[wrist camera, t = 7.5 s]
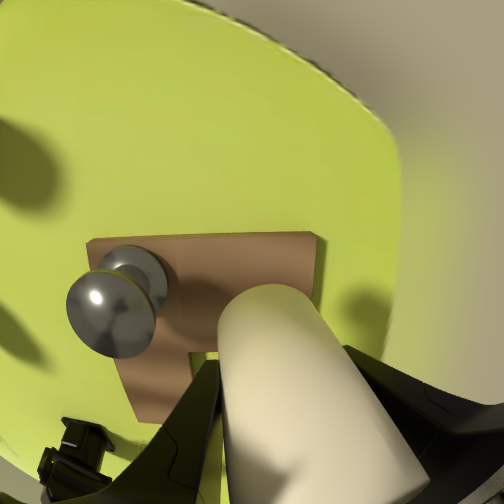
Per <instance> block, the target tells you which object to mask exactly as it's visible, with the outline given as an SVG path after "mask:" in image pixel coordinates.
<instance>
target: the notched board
mask: <svg viewBox="0 0 504 504" xmlns="http://www.w3.org/2000/svg"><path fill="white" fill-rule="evenodd" d="M127 244H129V245H137V246H141V247H143V248H146V249H147V250H149V251H151V252H152V253H153V254H155V255H156V256H157V257H158V258H159V260H160V261H161V262H162V264H163V265H164V267H165V269H166V272H167V275H168V279H169V290H168V294H167V297H166V300H165V302H164V304H163V306H162V308H161V309H160V310H159V311H158V312H157V313H156V329H155V332H154V335H153V338H152V341H151V343H150V345H149V347H148V348H147V349H146V350H145V351H144V352H143V353H141V354H140V355H138V356H135V357H132V358H128V359H116V358H113V359H114V362H115V365H116V368H117V371H118V374H119V376H120V379H121V382H122V384H123V387H124V389H125V392H126V394H127V397H128V399H129V402H130V404H131V406H132V409H133V411H134V413H135V415H136V418H137V420H138V422H142V423H153V424H163V423H164V422H165V420H166V419H167V417H168V416H169V414H170V413H171V412H172V410H173V409H174V407H175V406H176V404H177V403H178V401H179V400H180V398H181V397H182V395H183V394H184V392H185V391H186V389H187V388H188V386H189V385H190V383H191V382H192V380H193V379H194V373H193V367H192V361H191V354H190V352H218V338H217V327H218V322H219V319H220V316H221V314H222V312H223V310H224V309H225V308H226V306H227V305H228V304H229V303H230V302H231V301H232V300H233V299H234V298H235V297H236V296H238V295H239V294H241V293H242V292H244V291H246V290H248V289H251V288H253V287H257V286H261V285H267V284H280V285H286V286H290V287H292V288H295V289H297V290H299V291H300V292H302V293H303V294H304V295H306V296H307V297H308V299H309V300H310V301H311V300H312V290H313V280H314V269H315V257H316V244H317V236H316V235H315V234H313V233H312V232H311V231H302V232H247V233H211V234H181V235H156V236H133V237H113V238H94V239H92V240H91V241H89V242H88V243H86V248H87V254H88V260H89V266H90V271H91V270H94V269H97V266H98V264H99V262H100V261H101V259H102V258H103V257H104V256H105V255H106V254H107V253H108V252H109V251H111V250H112V249H114V248H116V247H118V246H121V245H127Z"/></svg>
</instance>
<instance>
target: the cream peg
mask: <svg viewBox="0 0 504 504" xmlns="http://www.w3.org/2000/svg"><path fill="white" fill-rule="evenodd" d="M217 338H218V361H219V371H220V391H221V413H222V427H223V439H224V451H225V462H226V473H227V482H228V492H229V501H230V504H406V503H408V502H409V501H410V500H412V499H413V498H414V497H416V496H417V495H418V494H419V493H420V492H421V491H423V490H424V489H425V488H426V487H427V485H428V484H429V483H430V478H429V477H428V475H427V473H426V472H425V470H424V469H423V467H422V466H421V464H420V462H419V461H418V459H417V458H416V456H415V455H414V453H413V451H412V450H411V448H410V447H409V445H408V444H407V442H406V441H405V439H404V438H403V436H402V434H401V433H400V431H399V430H398V428H397V427H396V425H395V424H394V422H393V421H392V419H391V418H390V416H389V415H388V413H387V412H386V410H385V409H384V407H383V406H382V404H381V403H380V401H379V400H378V398H377V397H376V395H375V394H374V392H373V391H372V389H371V388H370V386H369V385H368V383H367V382H366V380H365V379H364V377H363V376H362V374H361V373H360V371H359V370H358V369H357V367H356V366H355V364H354V363H353V361H352V360H351V358H350V357H349V355H348V354H347V352H346V351H345V350H344V348H343V347H342V345H341V344H340V342H339V341H338V339H337V338H336V337H335V335H334V334H333V332H332V331H331V329H330V328H329V327H328V325H327V324H326V322H325V321H324V319H323V318H322V317H321V315H320V314H319V312H318V311H317V309H316V308H315V307H314V305H313V304H312V302H311V301H310V300H309V299H308V297H307V296H306V295H304V294H303V293H302V292H300V291H299V290H297V289H295V288H292V287H290V286H286V285H280V284H267V285H261V286H257V287H253V288H251V289H248V290H246V291H244V292H242V293H241V294H239V295H238V296H236V297H235V298H234V299H233V300H232V301H231V302H230V303H229V304H228V305H227V306H226V308H225V309H224V310H223V312H222V314H221V316H220V319H219V322H218V327H217Z"/></svg>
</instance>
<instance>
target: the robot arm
mask: <svg viewBox="0 0 504 504" xmlns="http://www.w3.org/2000/svg"><path fill="white" fill-rule="evenodd" d="M342 347H343V348H344V350H345V351H346V352H347V354H348V355H349V357H350V358H351V360H352V361H353V363H354V364H355V366H356V367H357V369H358V370H359V371H360V373H361V374H362V376H363V377H364V379H365V380H366V382H367V383H368V385H369V386H370V388H371V389H372V391H373V392H374V394H375V395H376V397H377V398H378V400H379V401H380V403H381V404H382V406H383V407H384V409H385V410H386V412H387V413H388V415H389V416H390V418H391V419H392V421H393V422H394V424H395V425H396V427H397V428H398V430H399V431H400V433H401V434H402V436H403V438H404V439H405V441H406V442H407V444H408V445H409V447H410V448H411V450H412V451H413V453H414V455H415V456H416V458H417V459H418V461H419V462H420V464H421V466H422V467H423V469H424V470H425V472H426V473H427V475H428V477H429V478H430V483H429V484H428V485H427V487H426V488H425V489H424V490H423V491H421V492H420V493H419V494H418V495H417V496H416V497H414V498H413V499H412V500H410V501H409V502H408V503H406V504H504V403H500V404H496V405H484V404H480V403H477V402H474V401H471V400H468V399H464V398H461V397H459V396H456V395H453V394H450V393H447V392H445V391H442V390H439V389H437V388H435V387H433V386H431V385H429V384H426V383H423V382H422V381H420V380H418V379H415V378H413V377H411V376H409V375H407V374H405V373H403V372H401V371H399V370H397V369H395V368H393V367H390V366H388V365H387V364H385V363H383V362H381V361H378V360H376V359H374V358H372V357H370V356H368V355H367V354H365V353H363V352H361V351H359V350H357V349H355V348H353V347H351V346H349V345H344V346H342ZM61 421H62V422H63V424H64V425H65V426H66V430H65V433H64V435H63V438H62V440H61V442H62V443H61V446H60V448H59V451H58V450H56V448H54V447H53V446H52V448H48V447H46V448H45V450H44V453H43V455H42V458H41V461H40V463H39V466H38V469H37V472H38V474H39V478H40V481H39V483H40V484H42V485H43V486H44V487H43V491H42V495H41V502H42V504H220V494H221V471H222V450H223V427H222V413H221V391H220V371H219V361H218V360H206V361H205V362H204V364H203V365H202V367H201V368H200V370H199V371H198V373H197V374H196V376H195V377H194V379H193V380H192V382H191V383H190V385H189V386H188V388H187V389H186V391H185V392H184V394H183V395H182V397H181V398H180V400H179V401H178V403H177V404H176V406H175V407H174V409H173V410H172V412H171V413H170V414H169V416H168V417H167V419H166V420H165V422H164V423H163V425H162V427H160V429H159V430H158V432H157V433H156V435H155V436H154V437H153V439H152V440H151V441H150V443H149V444H148V445H147V446H146V448H145V449H144V450H143V451H142V452H141V453H140V454H139V455H138V456H137V458H136V459H135V460H134V461H133V462H132V463H131V464H130V465H129V466H128V467H127V468H126V469H125V470H124V471H123V472H122V473H121V474H120V475H119V476H118V477H117V478H116V479H115V480H114V481H113V482H112V478H111V477H109V476H108V477H107V476H105V475H103V474H101V473H100V470H101V465H102V461H103V457H104V453H105V450H106V451H111V452H115V448H114V446H113V445H112V443H111V442H110V440H109V439H108V437H107V436H106V434H105V432H104V431H103V429H102V428H101V426H99V425H96V424H91V423H86V422H81V421H77V420H73V419H69V418H65V417H62V419H61ZM52 461H53V463H52ZM0 504H26V503H23V502H20V501H18V500H16V499H15V498H13V497H11V496H9V495H8V494H6V493H4V492H0Z"/></svg>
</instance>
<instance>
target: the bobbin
mask: <svg viewBox="0 0 504 504" xmlns="http://www.w3.org/2000/svg"><path fill="white" fill-rule="evenodd" d="M168 290H169V279H168V275H167V272H166V269H165V267H164V265H163V264H162V262H161V261H160V260H159V258H158V257H157V256H156V255H155V254H153V253H152V252H151V251H149V250H147V249H146V248H143V247H141V246H137V245H129V244H127V245H121V246H118V247H116V248H114V249H112V250H111V251H109V252H108V253H107V254H106V255H105V256H104V257H103V258H102V259H101V261H100V262H99V264H98V266H97V269H94V270H91V271H89V272H87V273H85V274H84V275H82V276H81V277H80V278H79V279H78V280H77V281H76V282H75V283H74V284H73V285H72V286H71V288H70V290H69V292H68V295H67V300H66V310H67V315H68V319H69V321H70V324H71V326H72V328H73V330H74V331H75V333H76V334H77V335H78V337H79V338H80V339H81V340H82V341H83V342H84V343H85V344H86V345H87V346H88V347H90V348H91V349H92V350H94V351H96V352H97V353H100V354H102V355H104V356H107V357H111V358H116V359H128V358H132V357H135V356H138V355H140V354H141V353H143V352H144V351H145V350H146V349H147V348H148V347H149V345H150V343H151V341H152V338H153V335H154V332H155V329H156V313H157V312H158V311H159V310H160V309H161V308H162V306H163V304H164V302H165V300H166V297H167V294H168Z"/></svg>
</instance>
